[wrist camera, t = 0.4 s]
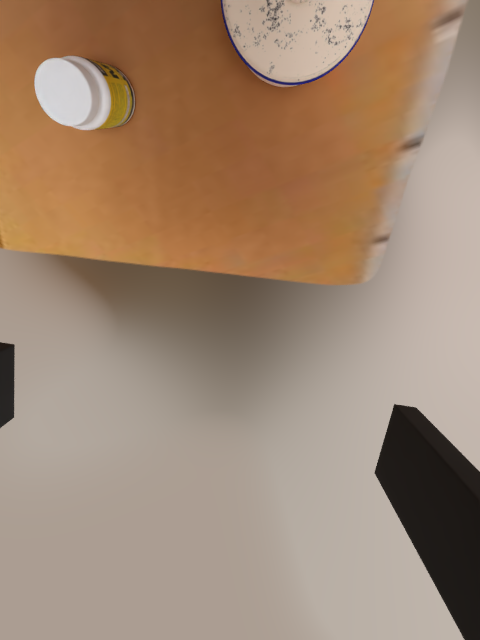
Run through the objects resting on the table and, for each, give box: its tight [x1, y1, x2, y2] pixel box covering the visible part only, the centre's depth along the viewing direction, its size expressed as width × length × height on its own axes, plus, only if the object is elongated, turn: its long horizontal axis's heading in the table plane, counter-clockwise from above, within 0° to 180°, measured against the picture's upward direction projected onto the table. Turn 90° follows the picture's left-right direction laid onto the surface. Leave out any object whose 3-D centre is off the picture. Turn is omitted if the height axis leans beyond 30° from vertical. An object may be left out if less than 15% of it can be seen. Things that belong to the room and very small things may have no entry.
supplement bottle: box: [34, 56, 135, 130], centre depth 27 cm, size 5×5×8 cm
